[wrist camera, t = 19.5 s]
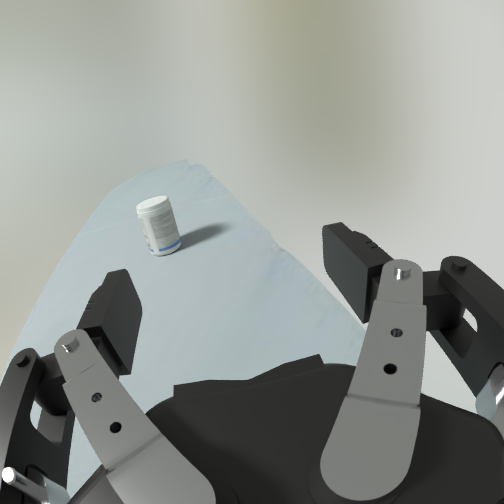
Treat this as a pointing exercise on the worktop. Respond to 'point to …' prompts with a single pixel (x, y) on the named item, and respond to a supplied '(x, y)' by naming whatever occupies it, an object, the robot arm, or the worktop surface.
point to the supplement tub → (159, 225)
